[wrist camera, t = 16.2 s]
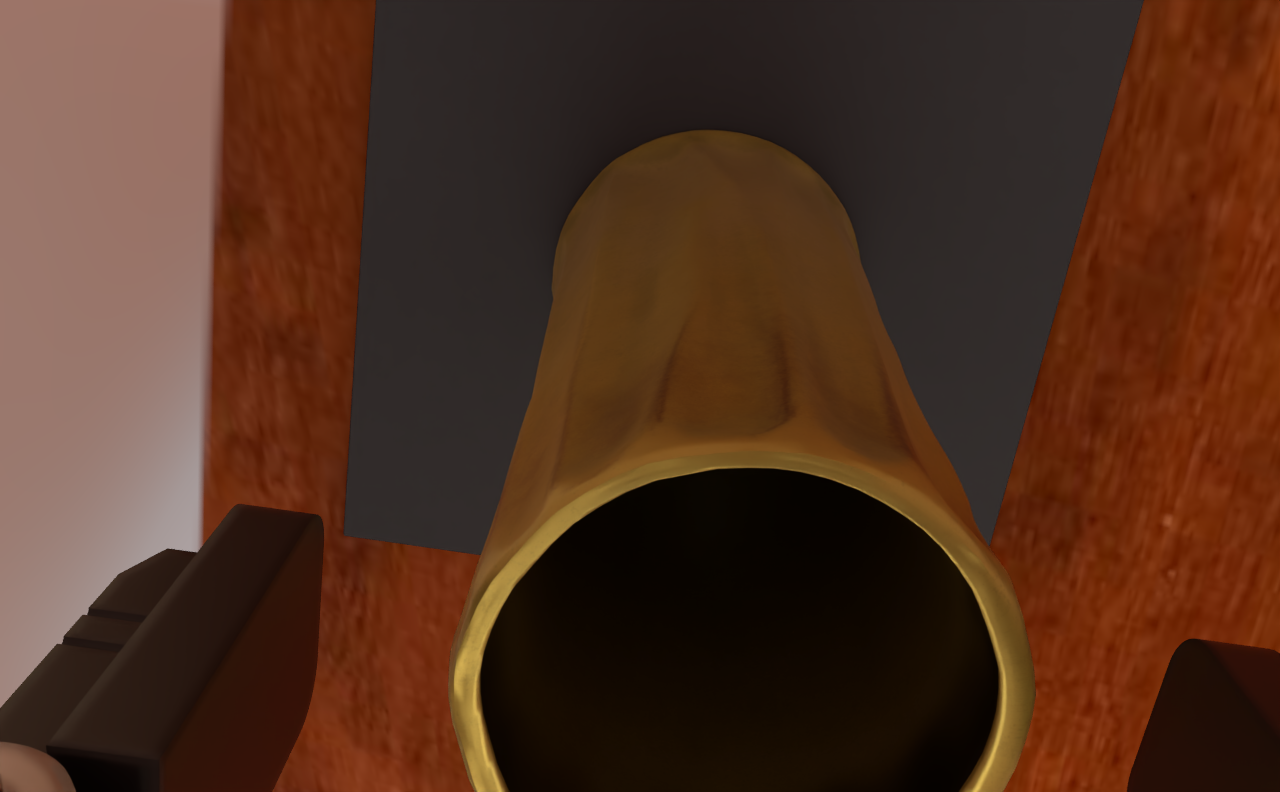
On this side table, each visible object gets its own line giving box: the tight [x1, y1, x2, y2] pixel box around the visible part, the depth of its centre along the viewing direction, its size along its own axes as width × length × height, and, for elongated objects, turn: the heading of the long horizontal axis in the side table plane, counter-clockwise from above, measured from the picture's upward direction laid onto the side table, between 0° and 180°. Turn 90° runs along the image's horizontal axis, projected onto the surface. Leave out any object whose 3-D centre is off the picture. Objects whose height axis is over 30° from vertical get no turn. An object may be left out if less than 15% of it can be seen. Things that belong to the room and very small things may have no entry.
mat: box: [344, 0, 1144, 555], centre depth 24 cm, size 14×14×1 cm
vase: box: [448, 130, 1036, 792], centre depth 17 cm, size 6×6×14 cm
